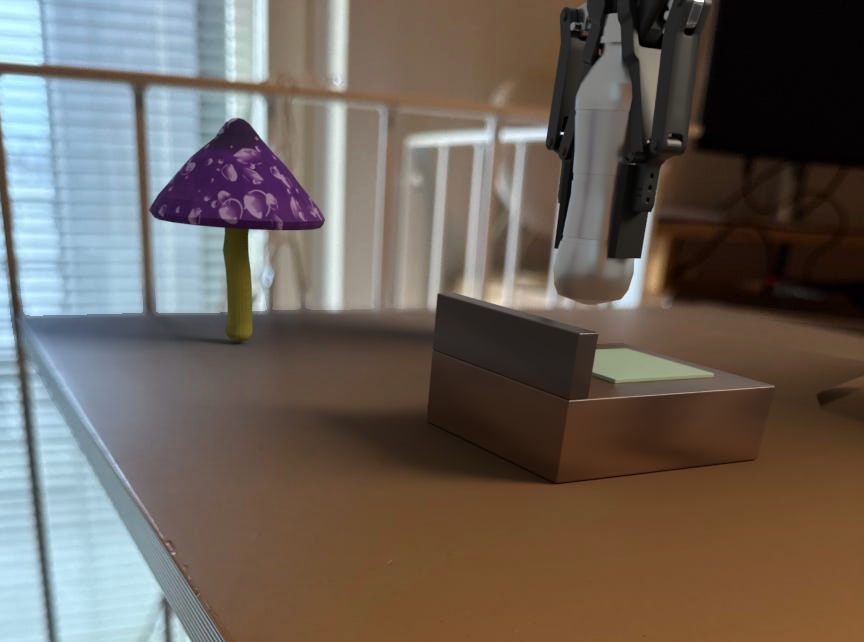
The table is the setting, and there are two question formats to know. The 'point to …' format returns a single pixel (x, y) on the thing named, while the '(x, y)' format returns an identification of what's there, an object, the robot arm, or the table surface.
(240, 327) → the decorative mushroom
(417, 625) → the table surface
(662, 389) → the metal stand with backrest
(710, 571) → the table surface
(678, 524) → the table surface
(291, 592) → the table surface
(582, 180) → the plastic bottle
